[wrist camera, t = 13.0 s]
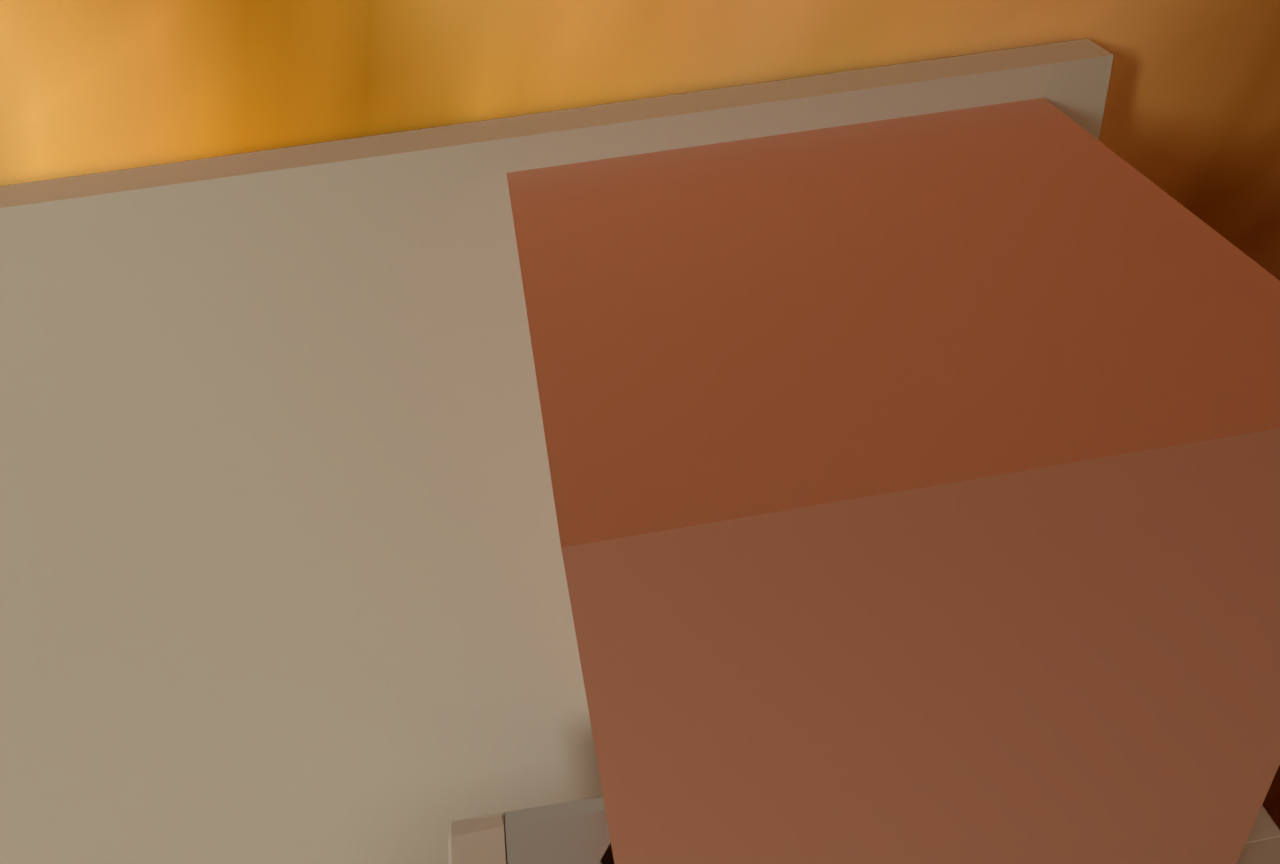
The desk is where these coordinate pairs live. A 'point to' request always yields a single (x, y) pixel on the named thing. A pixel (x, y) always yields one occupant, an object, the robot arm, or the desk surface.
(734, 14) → the desk surface
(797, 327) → the lintel
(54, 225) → the blueprint mat
